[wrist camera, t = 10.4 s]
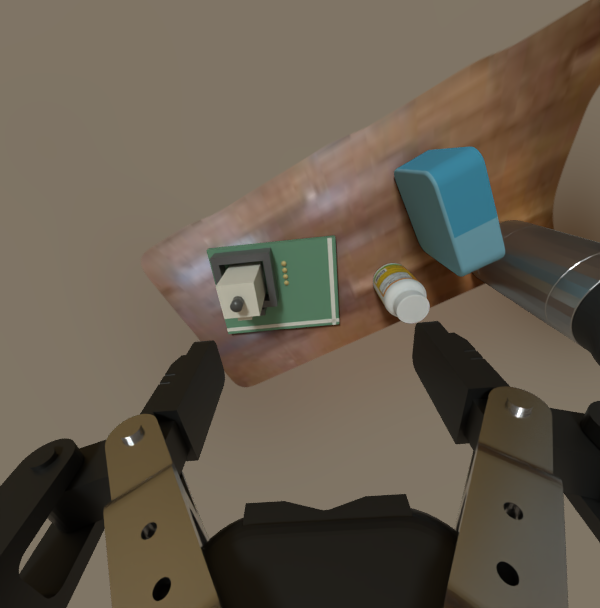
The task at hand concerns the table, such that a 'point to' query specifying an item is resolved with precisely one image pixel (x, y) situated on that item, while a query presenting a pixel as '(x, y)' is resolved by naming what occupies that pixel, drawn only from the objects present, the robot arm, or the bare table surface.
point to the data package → (452, 208)
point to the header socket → (251, 255)
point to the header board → (295, 285)
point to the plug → (242, 290)
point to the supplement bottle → (401, 293)
